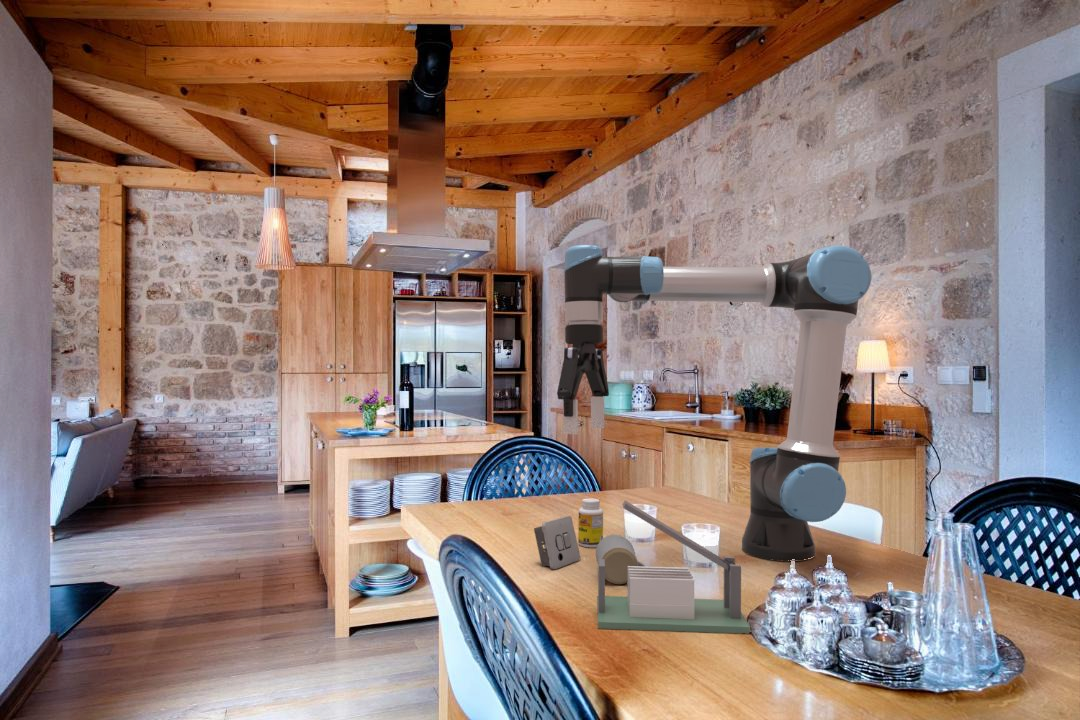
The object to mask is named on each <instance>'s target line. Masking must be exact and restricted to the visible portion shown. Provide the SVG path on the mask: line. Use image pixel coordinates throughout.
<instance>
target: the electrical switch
mask: <svg viewBox="0 0 1080 720" xmlns="http://www.w3.org/2000/svg"><path fill="white" fill-rule="evenodd" d="M541 523H542V524H541V525H540V526H538V527H534V528H533V531H534V534H535V535H534V536H535V540H536V546H537V549H538V555H539V559H540V564H541V567H549V568H550V569H551V570H552V569H553V570H557V569H560V568H563V567H565V566H567V565H570V564H573V563H576V562H579V561H580V559H581V554H580V548H579V543H578V540H577V536H576V532H575V526H574V523H573V518H572V516H570V515H566V516H565V515H564V516H562V517H559V518H555V519H551V520H548V521H544V522H541Z"/></svg>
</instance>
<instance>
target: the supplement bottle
mask: <svg viewBox="0 0 1080 720" xmlns="http://www.w3.org/2000/svg"><path fill="white" fill-rule="evenodd" d="M581 501H582V502H581V507H579V508H578V533H577V534H578V540H577V543H578V545H580V546H581V547H584V548H588V547H589V548H590V549H591V548H592V549H594V548H595V549H596V548H597V546H598V544H599V542H600V541H601V540H602V539H603V538H604V509H602V508H601V505H600V502H601V501H600V500H599V499H597V498H592V497H591V498H590V497H589V498H584V499H582V500H581Z"/></svg>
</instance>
